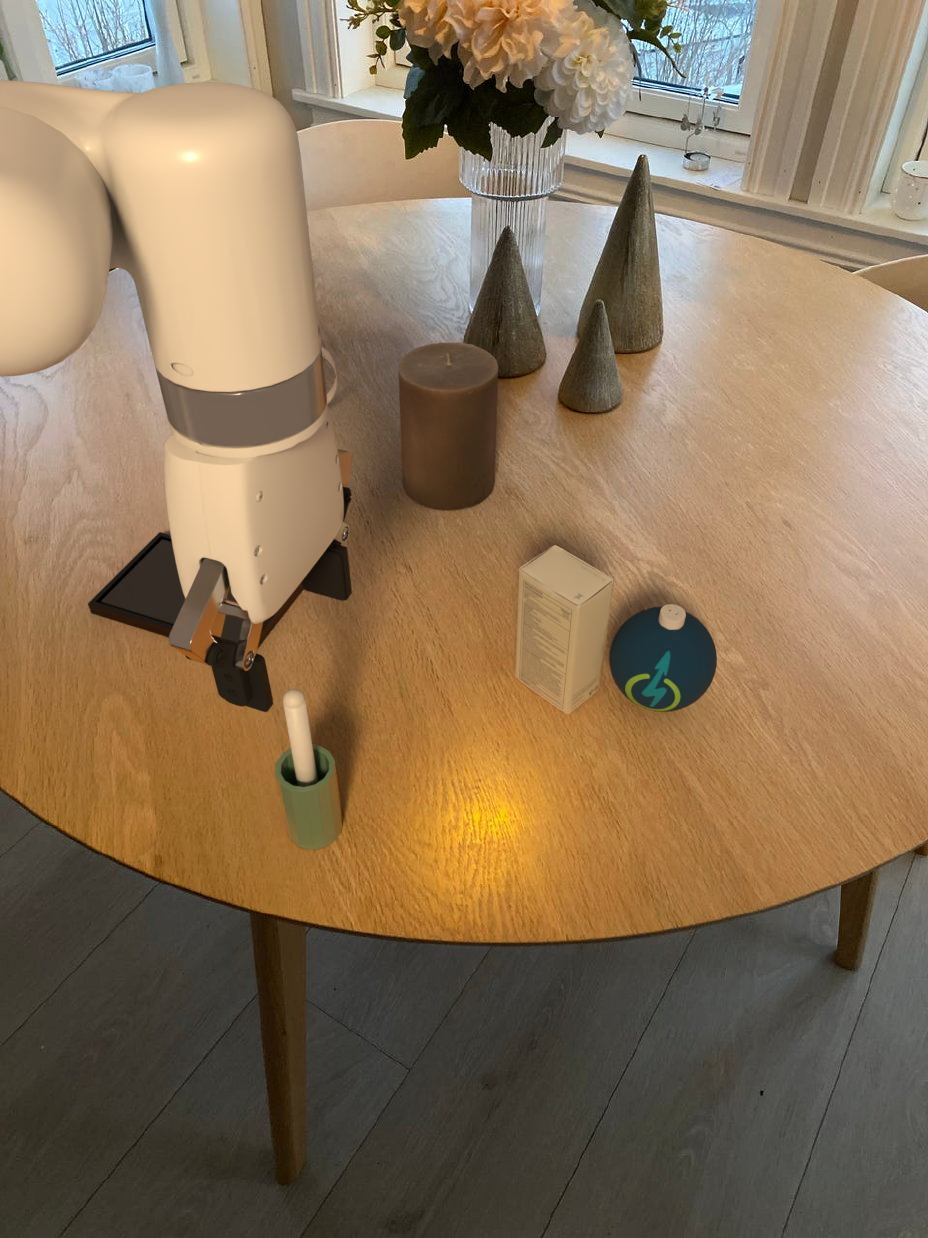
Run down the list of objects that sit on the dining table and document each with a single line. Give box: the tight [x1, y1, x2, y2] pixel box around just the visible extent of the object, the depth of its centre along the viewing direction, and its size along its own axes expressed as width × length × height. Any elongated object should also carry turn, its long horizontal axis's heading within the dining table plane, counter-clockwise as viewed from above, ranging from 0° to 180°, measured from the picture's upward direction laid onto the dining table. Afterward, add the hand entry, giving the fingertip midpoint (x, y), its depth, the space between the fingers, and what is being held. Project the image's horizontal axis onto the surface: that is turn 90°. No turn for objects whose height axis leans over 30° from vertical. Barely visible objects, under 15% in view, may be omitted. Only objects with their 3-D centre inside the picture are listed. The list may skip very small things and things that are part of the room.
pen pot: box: [274, 743, 343, 851], centre depth 67 cm, size 4×4×7 cm
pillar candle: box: [397, 341, 499, 511], centre depth 95 cm, size 10×10×15 cm
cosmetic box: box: [514, 544, 615, 716], centre depth 76 cm, size 6×4×12 cm
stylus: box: [282, 688, 318, 787], centre depth 64 cm, size 1×1×14 cm
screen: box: [101, 540, 243, 642], centre depth 86 cm, size 14×9×1 cm, turn 69°
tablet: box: [87, 531, 305, 650], centre depth 87 cm, size 16×11×1 cm
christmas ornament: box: [608, 603, 718, 713], centre depth 76 cm, size 8×8×10 cm
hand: (289, 644), depth 57 cm, fingers open, 9 cm apart
